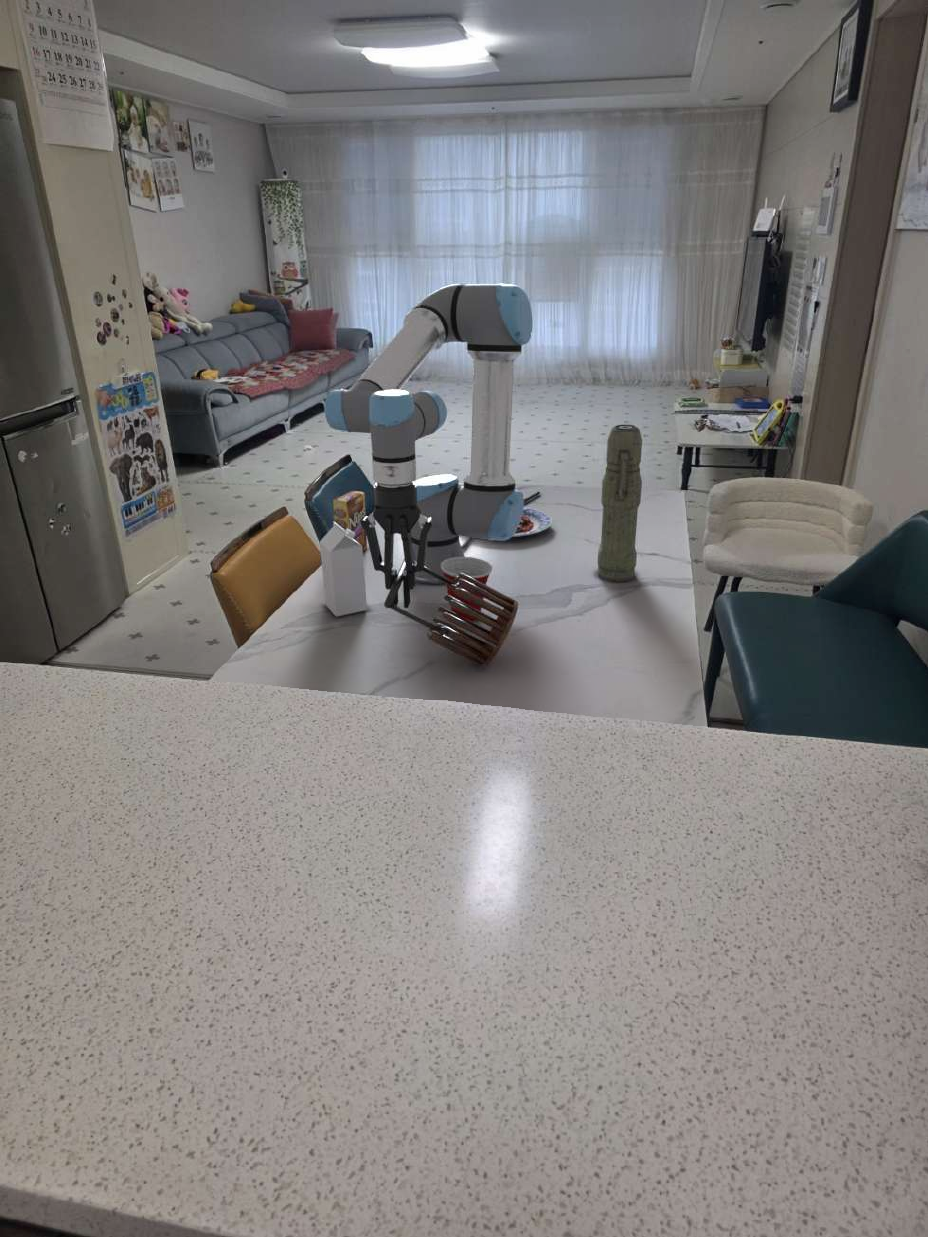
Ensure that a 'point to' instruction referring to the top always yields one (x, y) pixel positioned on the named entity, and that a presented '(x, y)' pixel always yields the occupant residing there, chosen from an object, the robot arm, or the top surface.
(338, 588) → the milk carton
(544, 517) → the ceramic plate
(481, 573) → the plastic cup
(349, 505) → the candy box
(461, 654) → the basket
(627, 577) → the thermos
